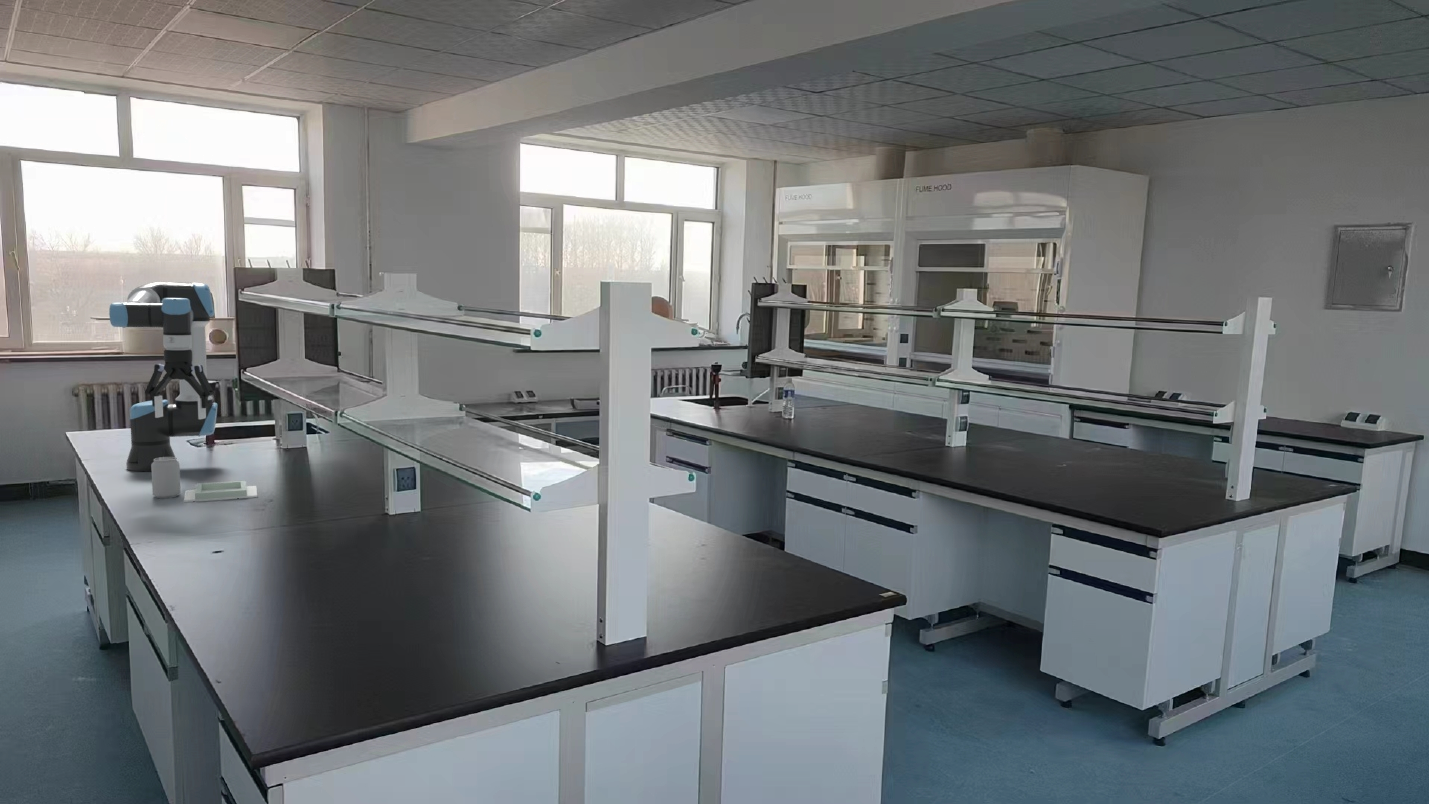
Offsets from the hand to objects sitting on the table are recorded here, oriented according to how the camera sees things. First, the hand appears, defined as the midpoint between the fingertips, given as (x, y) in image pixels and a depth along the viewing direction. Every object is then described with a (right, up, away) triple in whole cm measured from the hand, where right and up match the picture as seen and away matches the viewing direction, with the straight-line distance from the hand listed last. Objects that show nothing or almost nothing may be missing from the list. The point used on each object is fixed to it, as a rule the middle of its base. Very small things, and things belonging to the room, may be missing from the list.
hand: (180, 418), depth 287 cm
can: (-6, -24, +2) cm, 25 cm away
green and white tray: (+9, -24, +6) cm, 27 cm away
